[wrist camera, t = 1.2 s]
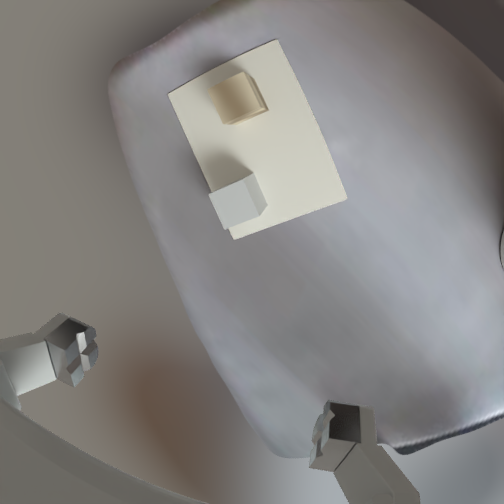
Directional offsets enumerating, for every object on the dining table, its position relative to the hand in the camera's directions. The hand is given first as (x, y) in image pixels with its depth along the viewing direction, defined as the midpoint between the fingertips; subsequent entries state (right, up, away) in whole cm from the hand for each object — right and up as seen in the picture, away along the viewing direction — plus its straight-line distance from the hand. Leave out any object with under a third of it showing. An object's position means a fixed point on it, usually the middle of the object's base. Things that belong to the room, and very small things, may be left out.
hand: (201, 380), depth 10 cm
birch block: (+1, +23, +27) cm, 35 cm away
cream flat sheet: (+2, +18, +29) cm, 34 cm away
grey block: (+1, +11, +31) cm, 33 cm away
